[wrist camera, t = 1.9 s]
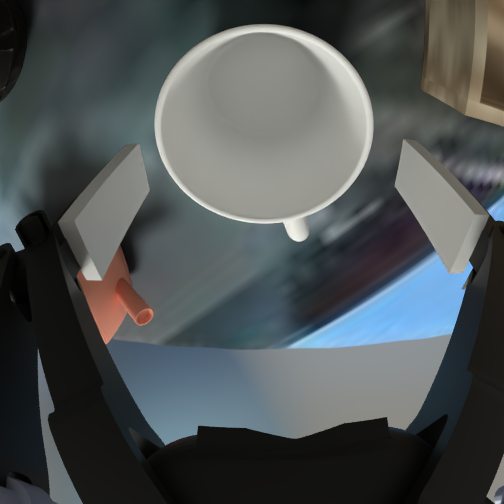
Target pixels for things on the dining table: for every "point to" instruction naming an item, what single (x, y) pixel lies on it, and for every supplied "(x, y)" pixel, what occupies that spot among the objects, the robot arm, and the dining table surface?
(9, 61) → the container
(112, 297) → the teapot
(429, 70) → the wooden tray
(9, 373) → the robot arm
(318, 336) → the dining table surface
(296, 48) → the cup
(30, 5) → the dining table surface
